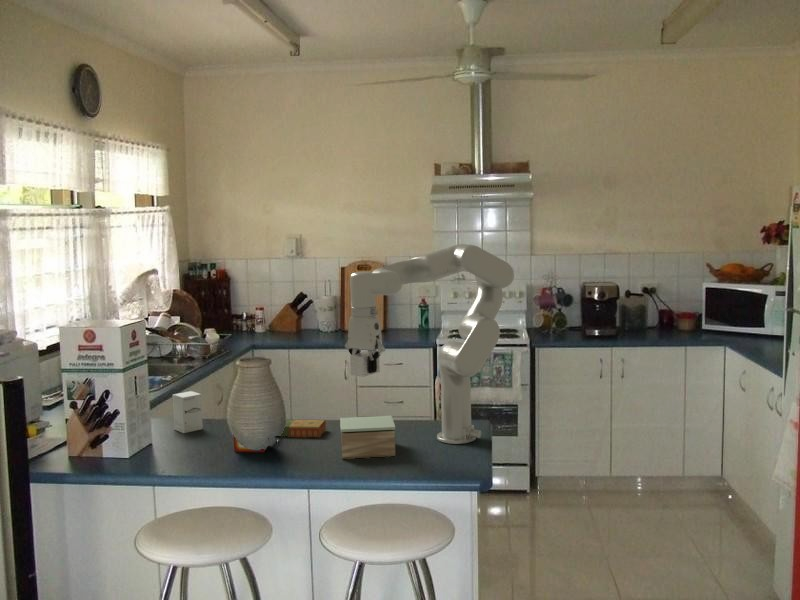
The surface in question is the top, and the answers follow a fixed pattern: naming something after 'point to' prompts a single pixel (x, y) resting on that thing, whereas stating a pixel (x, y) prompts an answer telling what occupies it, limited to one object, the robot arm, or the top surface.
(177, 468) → the top surface
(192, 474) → the top surface
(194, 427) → the supplement box
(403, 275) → the robot arm
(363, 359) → the white rectangular block
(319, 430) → the carton
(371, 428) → the lid
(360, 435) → the box
